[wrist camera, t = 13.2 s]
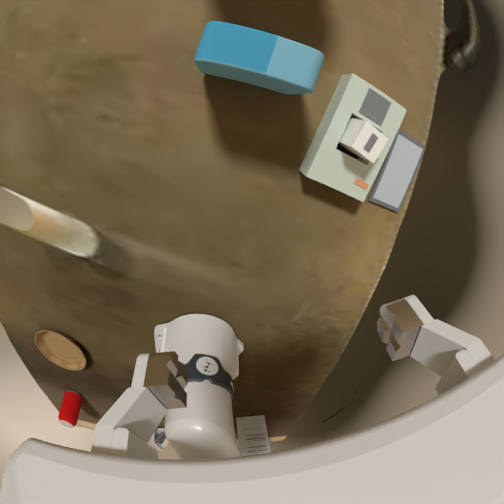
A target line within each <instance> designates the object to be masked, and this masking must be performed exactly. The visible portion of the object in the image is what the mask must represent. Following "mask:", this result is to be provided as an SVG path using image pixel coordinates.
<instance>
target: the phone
mask: <svg viewBox="0 0 504 504" xmlns="http://www.w3.org/2000/svg"><path fill="white" fill-rule="evenodd" d="M425 148H426V147H425V146H424V145H422V144H421V143H419V142H418V141H416V140H415V139H413V138H411V137H410V136H408V135H407V134H405V133H403V132H402V131H400V130H399V129H398V131H397V134H396V136H395V138H394V140H393V142H392V145H391V147H390V149H389V151H388V153H387V155H386V157H385V160H384V162H383V165H382V167H381V169H380V172H379V174H378V177H377V179H376V181H375V184H374V186H373V188H372V191H371V193H370V195H369V198H368V200H369V201H371V202H374V203H376V204H379V205H381V206H384V207H386V208H389V209H391V210H393V211H396V212H399V210H400V207H401V205H402V203H403V201H404V199H405V196H406V194H407V192H408V190H409V187H410V185H411V183H412V180H413V178H414V176H415V173H416V171H417V168H418V166H419V163H420V161H421V158H422V156H423V153H424V150H425Z"/></svg>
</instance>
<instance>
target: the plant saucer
mask: <svg viewBox="0 0 504 504" xmlns="http://www.w3.org/2000/svg"><path fill="white" fill-rule="evenodd" d="M35 342H36V345H37V347H38V348H39V350H40V351H41V353H42V354H43V355H44V356H45V357H46V358H48V359H49V360H50V361H51V362H53V363H55V364H56V365H58V366H60V367H62V368H65V369H69V370H81V369H83V368H84V367H85V366H86V359H85V356H84V354H83V352H82V350H81V348H80V347H79V345H78V344H77V343H76V342H75V341H74V340H73V339H72V338H71V337H69V336H68V335H66V334H64V333H62V332H60V331H57V330H42V331H39V332H38V333H37V334H36V336H35Z"/></svg>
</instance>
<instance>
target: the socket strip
mask: <svg viewBox="0 0 504 504" xmlns="http://www.w3.org/2000/svg"><path fill="white" fill-rule="evenodd" d="M406 111H407V110H406V109H405V108H403V107H402V106H401V105H399V104H398V103H397V102H395V101H394V100H393V99H391V98H390V97H388V96H387V95H386V94H384V93H383V92H381V91H380V90H378V89H377V88H375V87H374V86H372V85H371V84H369V83H368V82H366V81H364V80H363V79H361V78H360V77H358V76H356V75H355V74H353V73H352V74H344V75H342V76H341V78H340V81H339V83H338V85H337V87H336V90H335V92H334V94H333V96H332V99H331V101H330V103H329V105H328V107H327V110H326V112H325V114H324V116H323V119H322V121H321V123H320V125H319V127H318V130H317V132H316V134H315V136H314V138H313V141H312V143H311V145H310V147H309V149H308V152H307V154H306V156H305V158H304V160H303V163H302V165H301V167H300V169H299V170H300V171H301V172H302V173H303V174H304V175H305V176H306V177H309V178H311V179H313V180H316V181H318V182H320V183H323V184H325V185H327V186H329V187H332V188H334V189H336V190H338V191H340V192H343V193H345V194H347V195H349V196H351V197H353V198H355V199H357V200H360V201H362V202H364V200H365V198H366V196H367V194H368V192H369V190H370V188H371V186H372V184H373V182H374V180H375V178H376V176H377V174H378V172H379V170H380V168H381V166H382V164H383V162H384V160H385V157H386V155H387V153H388V151H389V149H390V147H391V145H392V142H393V140H394V138H395V136H396V134H397V131H398V129H399V127H400V125H401V122H402V120H403V118H404V115H405V113H406ZM350 117H353V118H354V119H359V120H364V121H368V122H369V123H370V124H371V125H372V126H374V127H375V128H376V129H377V130H378V131H380V132H381V133H382V134H383V135H384V136H385V137H387V138H388V141H387V143H386V144H385V146H384V148H383V149H382V151H381V153H380V154H379V156H378V157H377V159H376V161H375V162H374V164H373V163H371V162H369V161H367V160H365V159H363V158H361V157H359V156H358V158H357V159H355V158H353V157H351V156H349V155H347V154H345V153H343V152H342V151H340V150H338V149H336V147H337V145H338V143H339V141H340V139H341V137H342V134H343V132H344V130H345V128H346V126H347V123H348V121H349V119H350Z"/></svg>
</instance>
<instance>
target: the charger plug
mask: <svg viewBox="0 0 504 504" xmlns="http://www.w3.org/2000/svg"><path fill="white" fill-rule="evenodd" d="M387 141H388V138H387V137H385V136H384V135H383V134H382V133H381V132H380V131H378V130H377V129H376V128H375V127H374V126H372V125H371V124H370V123H369V122H368V121H364V120H359V119H354V118H350V119H349V121H348V123H347V126H346V128H345V130H344V132H343V134H342V137H341V139H340V141H339V143H338V144H340V145H341V146H342V147H344V148H345V149H347V150H348V151H349V152H351V153H353V154H355V155H357V156H359V157H361V158H363V159H365V160H367V161H369V162H371V163H373V164H374V162H375V161H376V159H377V157H378V156H379V154H380V153H381V151H382V149H383V148H384V146H385V144H386V143H387Z"/></svg>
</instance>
